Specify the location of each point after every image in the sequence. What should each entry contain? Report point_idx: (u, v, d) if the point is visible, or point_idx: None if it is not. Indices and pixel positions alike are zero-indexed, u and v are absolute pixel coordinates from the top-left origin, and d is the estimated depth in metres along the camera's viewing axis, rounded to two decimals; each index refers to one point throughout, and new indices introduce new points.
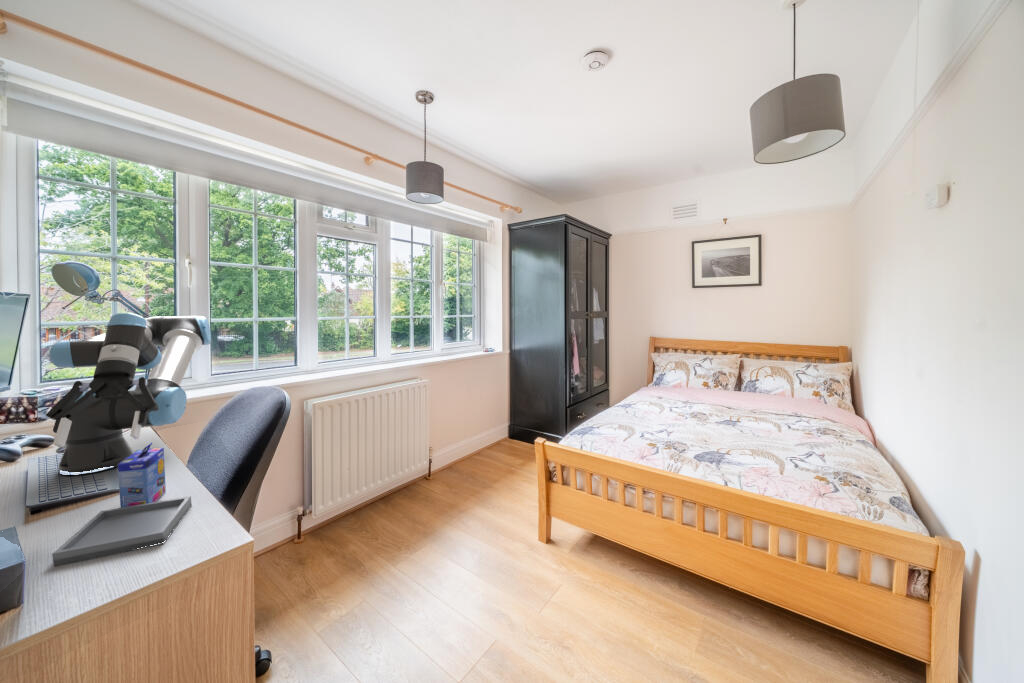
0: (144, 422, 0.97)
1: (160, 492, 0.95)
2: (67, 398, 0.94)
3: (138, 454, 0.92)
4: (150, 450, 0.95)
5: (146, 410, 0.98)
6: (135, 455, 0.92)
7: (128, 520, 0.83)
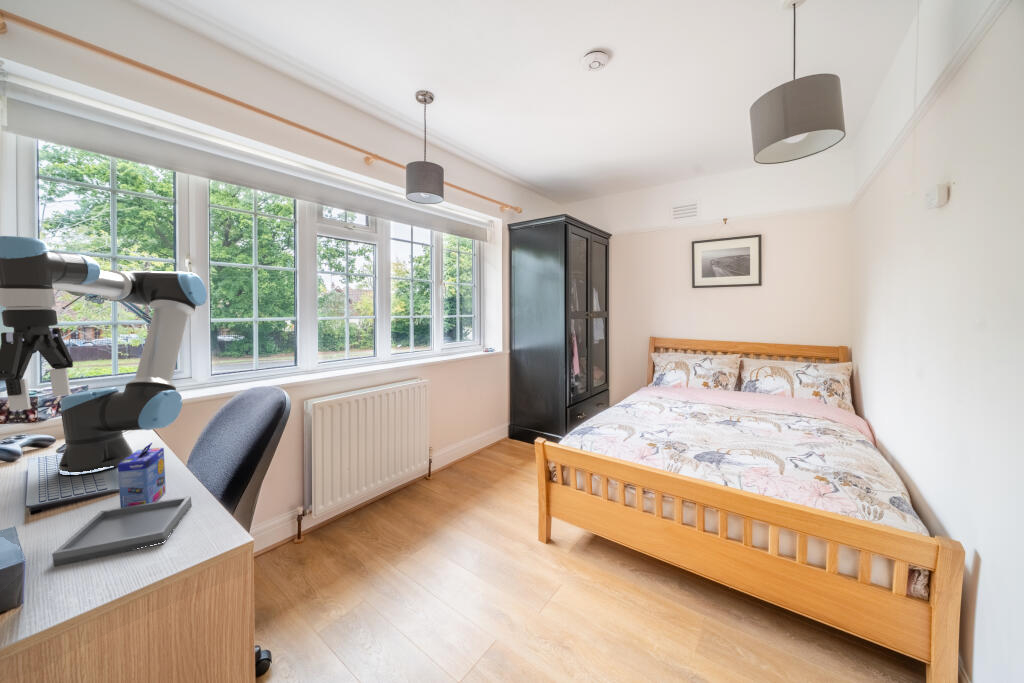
0: (11, 394, 0.78)
1: (160, 492, 0.95)
2: None
3: (138, 454, 0.92)
4: (150, 450, 0.95)
5: (5, 379, 0.77)
6: (135, 455, 0.92)
7: (128, 520, 0.83)
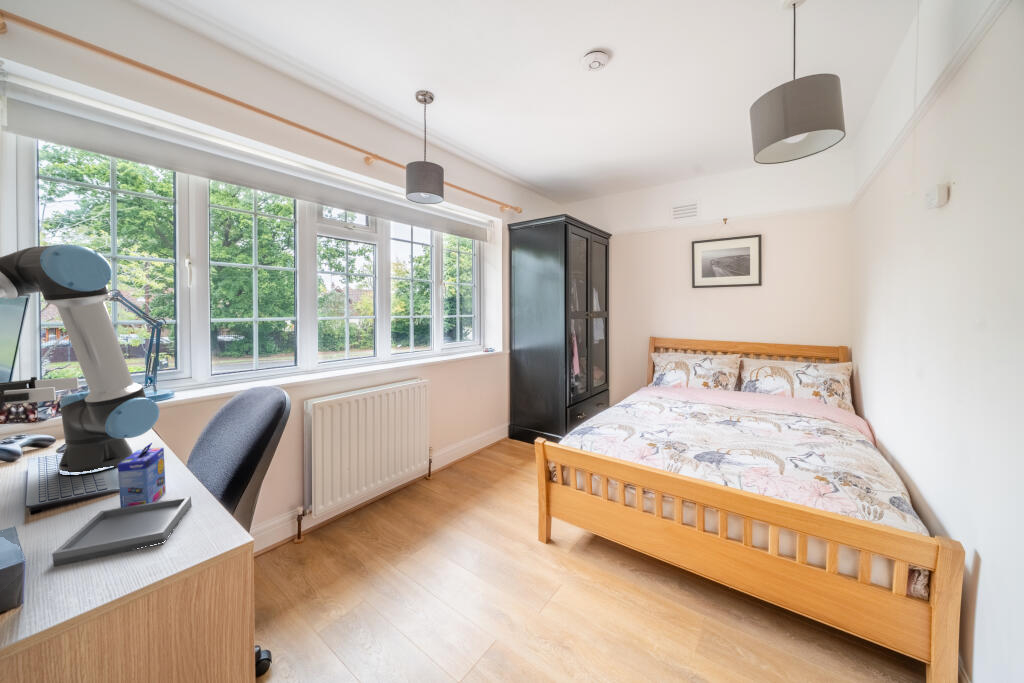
0: (24, 397, 0.76)
1: (160, 492, 0.95)
2: None
3: (138, 454, 0.92)
4: (150, 450, 0.95)
5: None
6: (135, 455, 0.92)
7: (128, 520, 0.83)
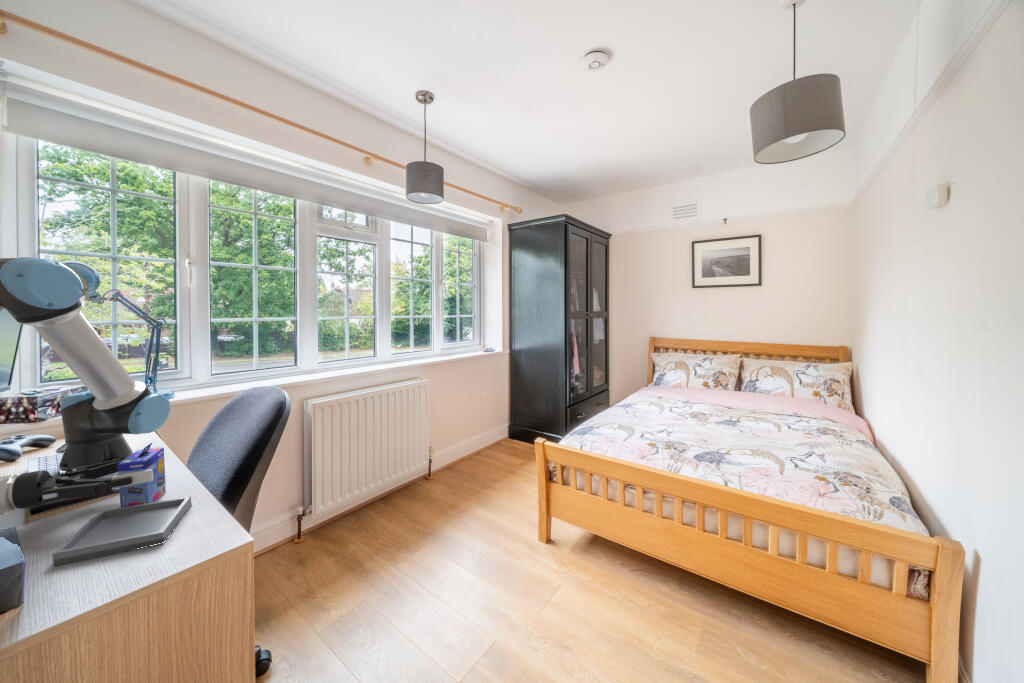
0: (129, 481, 0.86)
1: (160, 492, 0.95)
2: None
3: (138, 454, 0.92)
4: (150, 450, 0.95)
5: (110, 488, 0.84)
6: (135, 455, 0.92)
7: (128, 520, 0.83)
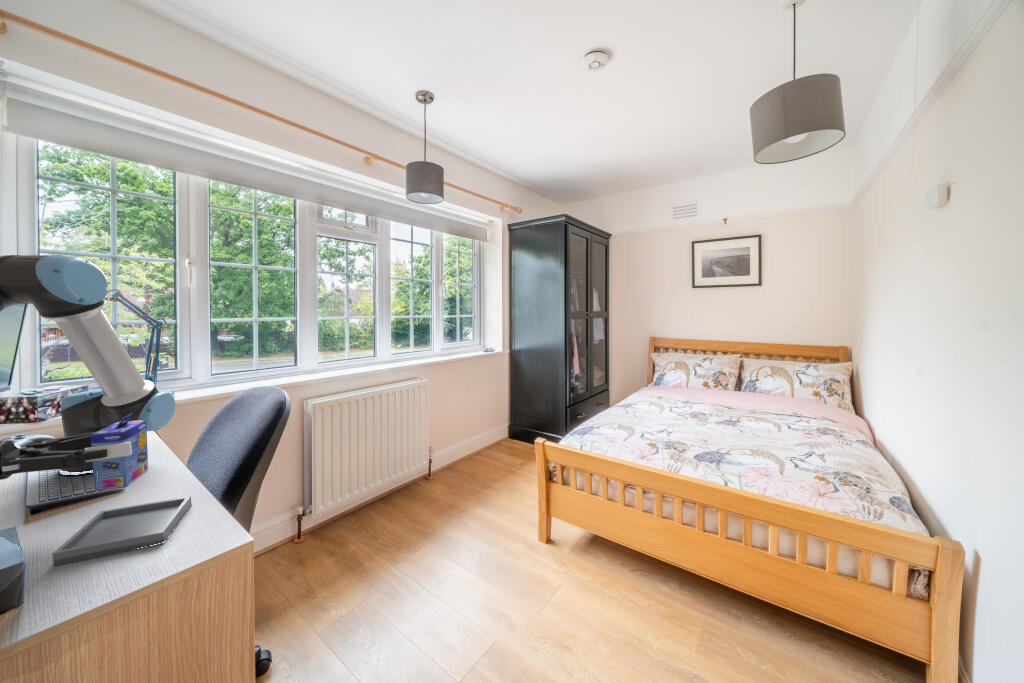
0: (103, 454, 0.76)
1: (141, 469, 0.85)
2: None
3: (116, 425, 0.82)
4: (130, 422, 0.85)
5: (81, 461, 0.74)
6: (112, 426, 0.81)
7: (128, 520, 0.83)
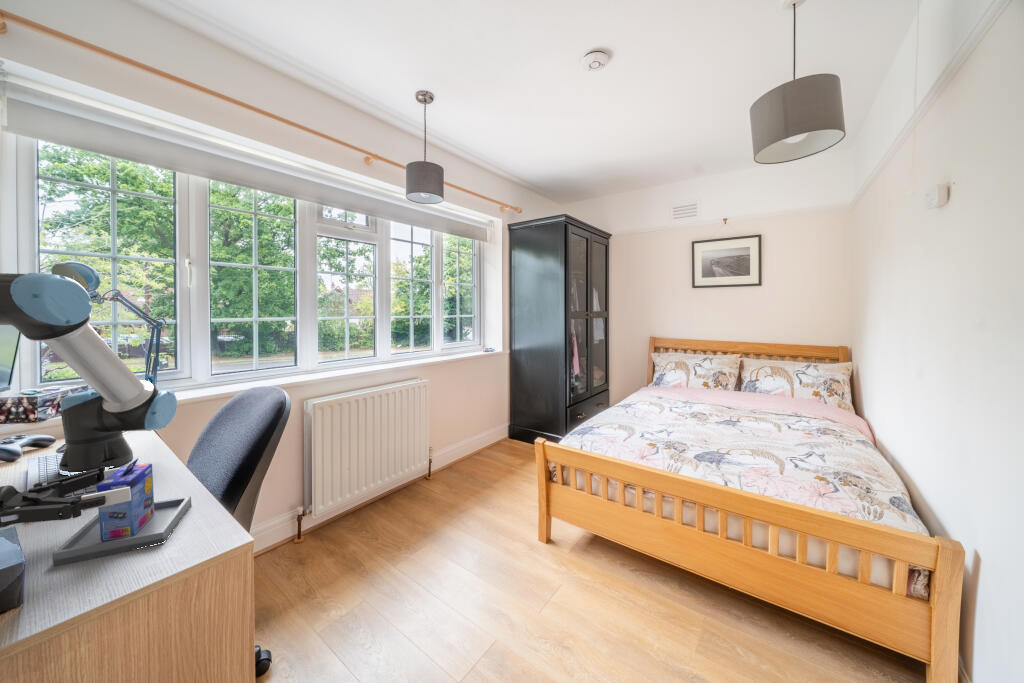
0: (101, 502, 0.72)
1: (147, 515, 0.82)
2: None
3: (122, 472, 0.80)
4: (136, 467, 0.82)
5: (77, 510, 0.70)
6: (118, 473, 0.79)
7: None
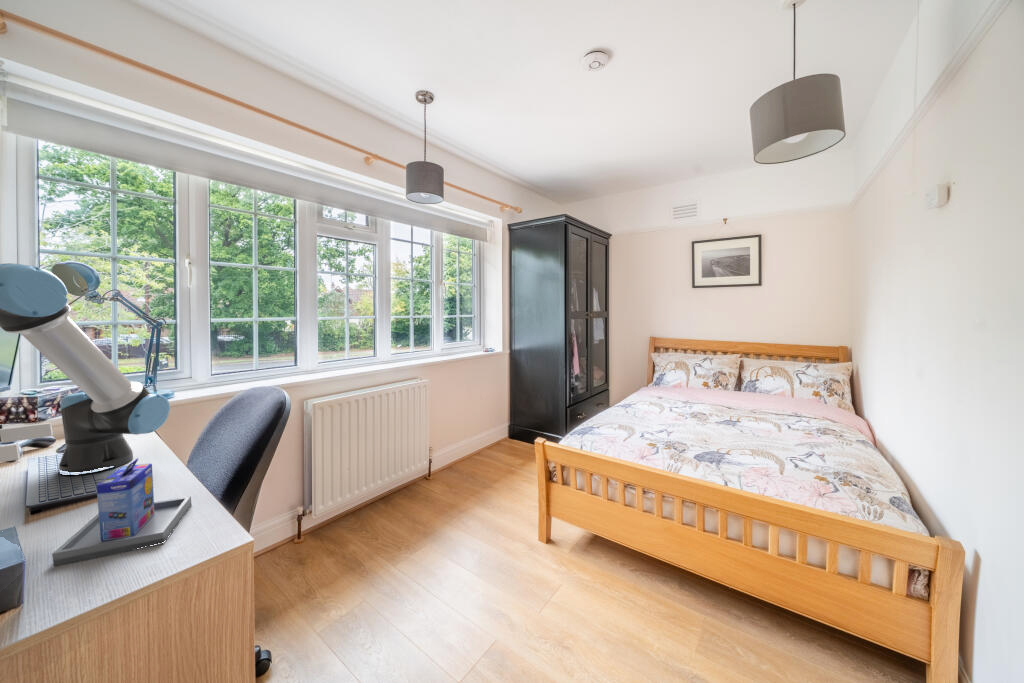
0: None
1: (147, 515, 0.82)
2: None
3: (122, 472, 0.80)
4: (136, 467, 0.82)
5: None
6: (118, 473, 0.79)
7: None
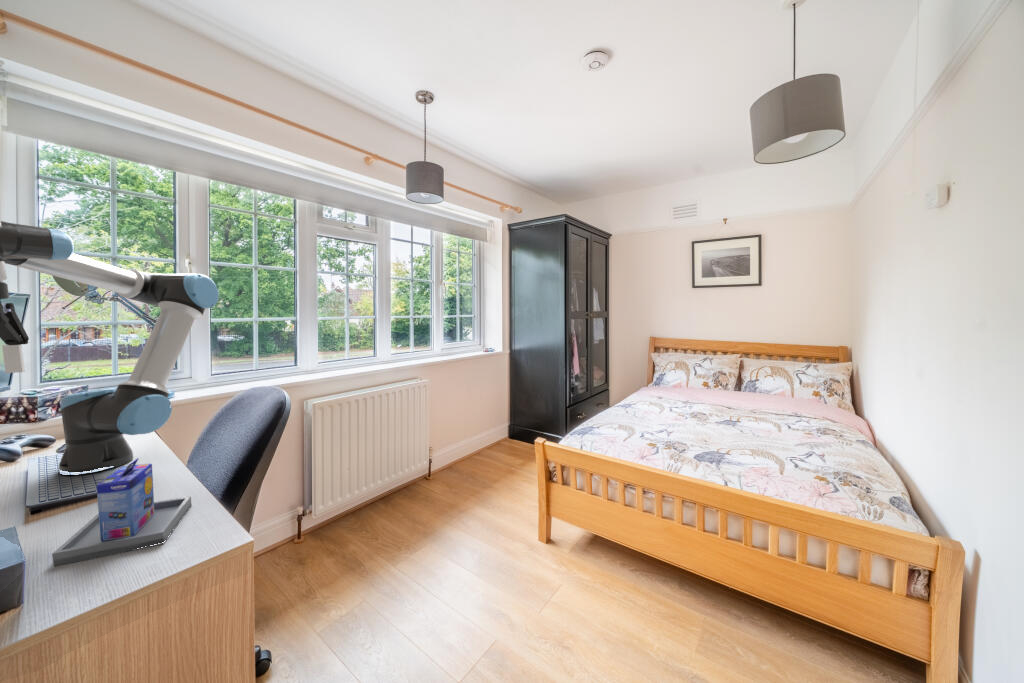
0: None
1: (147, 515, 0.82)
2: None
3: (122, 472, 0.80)
4: (136, 467, 0.82)
5: None
6: (118, 473, 0.79)
7: None
